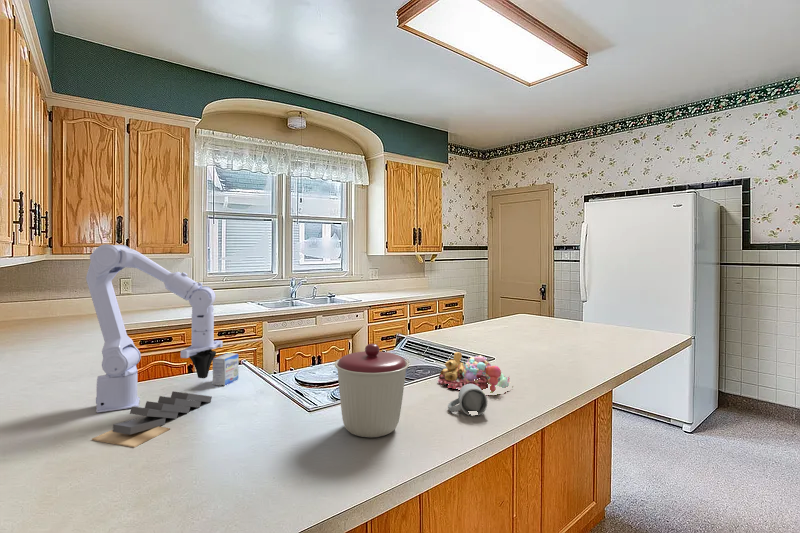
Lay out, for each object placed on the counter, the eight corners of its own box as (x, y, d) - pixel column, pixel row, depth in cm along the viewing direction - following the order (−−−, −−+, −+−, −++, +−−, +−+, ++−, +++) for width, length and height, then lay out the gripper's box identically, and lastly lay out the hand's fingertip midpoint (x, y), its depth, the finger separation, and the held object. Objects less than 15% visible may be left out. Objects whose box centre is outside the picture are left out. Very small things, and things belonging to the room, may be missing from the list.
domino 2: (176, 418, 110) (146, 416, 101) (160, 416, 112) (129, 413, 103) (178, 412, 111) (148, 409, 102) (162, 409, 112) (131, 406, 103)
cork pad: (134, 447, 94) (134, 446, 94) (91, 440, 97) (91, 438, 97) (170, 429, 104) (170, 428, 104) (130, 423, 107) (130, 422, 107)
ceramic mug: (481, 406, 124) (482, 380, 123) (487, 416, 116) (487, 389, 116) (446, 406, 124) (446, 380, 123) (449, 416, 116) (449, 389, 116)
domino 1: (164, 424, 107) (130, 434, 97) (148, 421, 108) (112, 431, 98) (165, 417, 107) (130, 427, 97) (149, 415, 108) (113, 424, 99)
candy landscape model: (428, 388, 140) (429, 360, 139) (448, 370, 161) (448, 346, 161) (507, 400, 130) (508, 369, 130) (517, 379, 152) (517, 353, 152)
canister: (380, 453, 94) (381, 356, 93) (318, 433, 103) (319, 345, 103) (420, 425, 109) (422, 342, 108) (363, 410, 119) (364, 333, 118)
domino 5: (210, 402, 122) (186, 399, 113) (195, 400, 124) (170, 397, 115) (211, 396, 123) (188, 393, 114) (197, 394, 124) (172, 391, 115)
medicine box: (224, 386, 137) (224, 359, 137) (212, 385, 138) (212, 358, 138) (238, 379, 145) (239, 353, 144) (226, 378, 146) (227, 352, 145)
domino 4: (199, 407, 118) (174, 404, 109) (184, 405, 120) (157, 402, 110) (201, 401, 119) (175, 398, 110) (185, 399, 120) (159, 396, 111)
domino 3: (188, 413, 114) (161, 410, 105) (172, 410, 115) (144, 407, 106) (190, 406, 115) (163, 403, 106) (174, 404, 116) (146, 401, 107)
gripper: (196, 335, 114) (196, 386, 115) (231, 326, 128) (231, 372, 129) (174, 333, 116) (174, 383, 117) (211, 325, 130) (211, 369, 130)
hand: (202, 377), depth 123 cm, fingers closed
